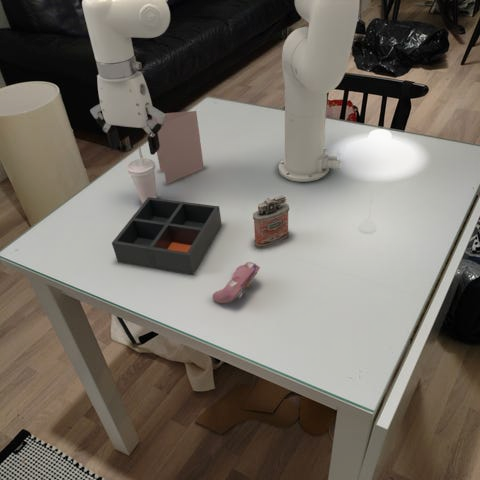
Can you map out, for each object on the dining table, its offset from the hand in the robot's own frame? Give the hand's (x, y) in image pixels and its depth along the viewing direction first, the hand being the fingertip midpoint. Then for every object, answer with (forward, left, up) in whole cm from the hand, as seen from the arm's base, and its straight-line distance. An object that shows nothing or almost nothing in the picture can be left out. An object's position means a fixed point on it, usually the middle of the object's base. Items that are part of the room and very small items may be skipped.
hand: (135, 149), depth 107 cm
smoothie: (0, 0, -14) cm, 14 cm away
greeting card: (-3, -13, -14) cm, 19 cm away
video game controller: (-31, +25, -14) cm, 42 cm away
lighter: (-33, +8, -14) cm, 37 cm away
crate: (-12, +14, -14) cm, 23 cm away
